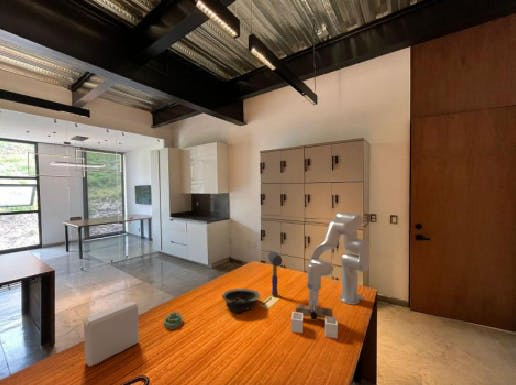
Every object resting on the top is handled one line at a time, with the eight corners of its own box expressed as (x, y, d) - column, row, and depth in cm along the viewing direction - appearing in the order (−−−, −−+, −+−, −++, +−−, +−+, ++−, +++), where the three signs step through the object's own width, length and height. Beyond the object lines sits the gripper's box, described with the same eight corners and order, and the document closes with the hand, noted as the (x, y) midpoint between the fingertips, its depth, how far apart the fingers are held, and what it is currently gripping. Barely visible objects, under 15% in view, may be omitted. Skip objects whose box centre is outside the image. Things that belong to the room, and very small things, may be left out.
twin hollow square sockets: (336, 330, 125) (336, 317, 125) (337, 338, 119) (337, 325, 118) (292, 324, 131) (292, 311, 130) (291, 331, 124) (291, 318, 124)
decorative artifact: (166, 319, 135) (161, 330, 125) (166, 307, 135) (161, 317, 125) (184, 317, 137) (181, 328, 127) (183, 306, 137) (181, 315, 127)
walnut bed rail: (331, 320, 134) (331, 308, 133) (332, 324, 130) (332, 312, 130) (296, 316, 138) (296, 304, 138) (295, 319, 135) (296, 307, 135)
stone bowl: (228, 320, 134) (228, 304, 134) (217, 303, 156) (217, 289, 157) (267, 310, 144) (266, 295, 144) (251, 295, 167) (251, 282, 167)
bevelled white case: (133, 336, 120) (132, 298, 119) (140, 343, 115) (139, 303, 114) (83, 361, 104) (82, 317, 103) (89, 370, 99) (87, 324, 98)
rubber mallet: (282, 299, 159) (283, 255, 157) (272, 300, 157) (272, 256, 155) (276, 290, 171) (277, 250, 169) (267, 291, 169) (267, 250, 167)
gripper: (307, 278, 142) (307, 307, 143) (307, 291, 126) (306, 324, 127) (320, 279, 141) (320, 309, 142) (321, 292, 124) (321, 326, 125)
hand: (313, 316), depth 134 cm, fingers open, 4 cm apart
